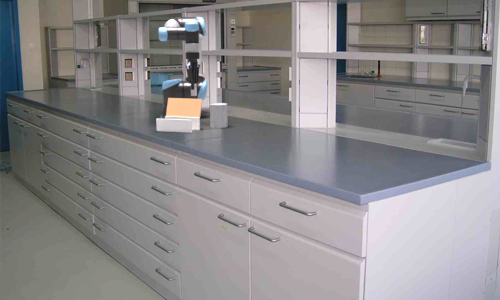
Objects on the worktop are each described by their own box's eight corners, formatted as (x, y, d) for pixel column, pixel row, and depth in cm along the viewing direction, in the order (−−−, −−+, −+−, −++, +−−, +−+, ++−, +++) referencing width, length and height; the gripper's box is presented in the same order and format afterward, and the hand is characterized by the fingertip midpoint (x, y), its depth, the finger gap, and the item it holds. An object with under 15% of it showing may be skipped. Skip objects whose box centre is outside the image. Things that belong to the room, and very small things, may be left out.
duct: (166, 128, 294) (165, 116, 292) (199, 129, 286) (199, 117, 285) (156, 131, 284) (156, 118, 283) (191, 132, 277) (190, 120, 276)
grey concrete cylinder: (216, 128, 290) (215, 105, 288) (206, 126, 298) (206, 103, 295) (231, 126, 295) (230, 104, 293) (221, 124, 303) (221, 102, 301)
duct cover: (165, 116, 292) (166, 116, 293) (199, 117, 285) (200, 118, 286) (168, 97, 294) (169, 98, 295) (201, 98, 286) (202, 99, 287)
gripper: (191, 51, 302) (193, 94, 307) (180, 52, 290) (182, 96, 295) (204, 51, 299) (205, 94, 304) (193, 51, 288) (194, 96, 292)
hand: (193, 95), depth 299 cm, fingers closed
